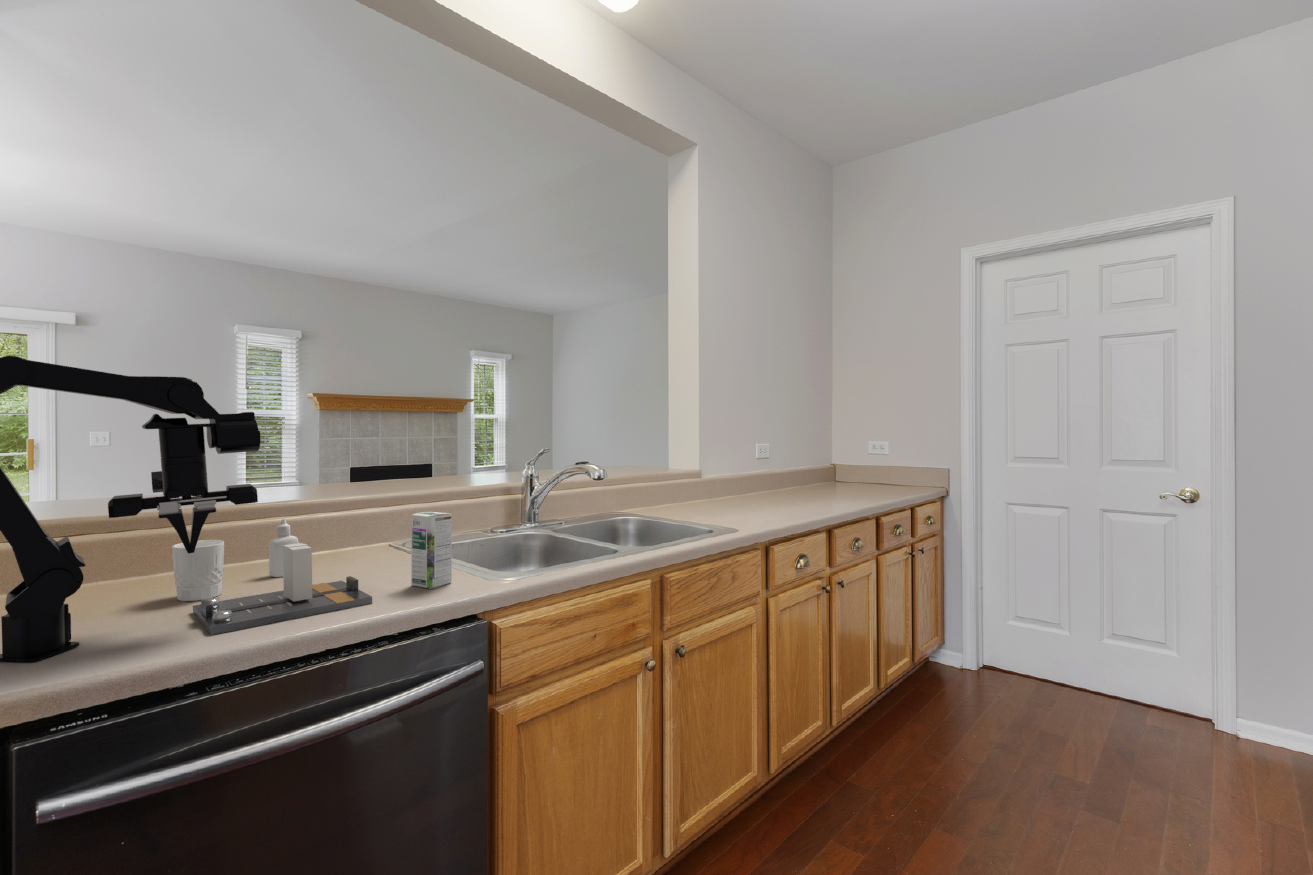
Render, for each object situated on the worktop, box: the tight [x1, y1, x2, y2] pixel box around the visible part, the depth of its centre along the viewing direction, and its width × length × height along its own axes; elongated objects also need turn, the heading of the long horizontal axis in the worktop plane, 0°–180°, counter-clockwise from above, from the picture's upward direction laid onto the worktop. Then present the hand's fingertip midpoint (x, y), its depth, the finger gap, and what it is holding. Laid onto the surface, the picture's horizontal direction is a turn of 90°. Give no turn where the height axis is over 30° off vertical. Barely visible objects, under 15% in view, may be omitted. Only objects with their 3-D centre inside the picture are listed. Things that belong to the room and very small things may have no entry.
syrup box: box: [410, 511, 453, 590], centre depth 125 cm, size 6×6×14 cm
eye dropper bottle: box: [268, 518, 300, 578], centre depth 133 cm, size 4×6×12 cm
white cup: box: [171, 539, 225, 602], centre depth 116 cm, size 8×8×10 cm
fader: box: [283, 542, 313, 602], centre depth 110 cm, size 3×6×9 cm, turn 45°
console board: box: [192, 576, 373, 636], centre depth 109 cm, size 24×16×3 cm
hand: (190, 552), depth 100 cm, fingers closed
